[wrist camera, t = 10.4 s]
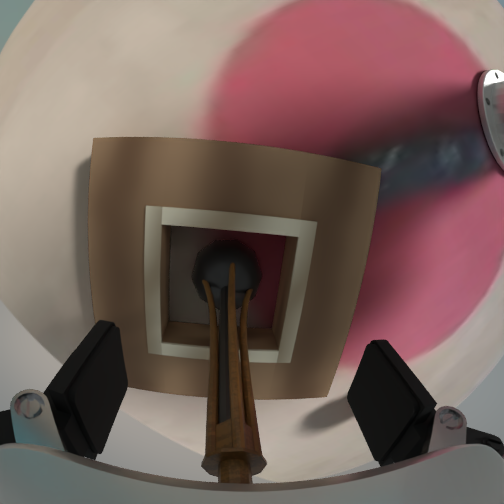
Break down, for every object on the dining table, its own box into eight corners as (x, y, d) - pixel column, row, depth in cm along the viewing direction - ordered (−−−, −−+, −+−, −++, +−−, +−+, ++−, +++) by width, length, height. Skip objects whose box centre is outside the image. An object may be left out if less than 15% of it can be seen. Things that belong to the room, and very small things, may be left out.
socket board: (360, 168, 19) (383, 168, 16) (317, 375, 23) (327, 398, 20) (111, 142, 17) (91, 137, 14) (116, 361, 21) (106, 384, 18)
